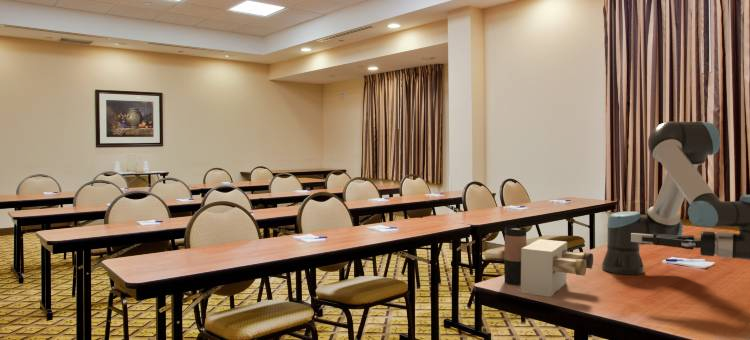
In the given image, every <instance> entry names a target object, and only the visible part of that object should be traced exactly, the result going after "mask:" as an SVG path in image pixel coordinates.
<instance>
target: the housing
mask: <svg viewBox="0 0 750 340" xmlns="http://www.w3.org/2000/svg"><path fill="white" fill-rule="evenodd" d="M562 251H566V252H568V241H565V240H564V241H563V240H551V239H543V238H542V239H541V238H539V239H536V240H535V241H533V242H531V243H529V244H528V245H527V244H526V246H525V247H523V248H521V285H520V294H521V293H523V294H527V295H528V294H530V295H533V296H534V295H535V296H542V297H548V298H551V297H552V296H554V293H555V292H556V291H557V290H558V291H560V290H561V288H562V287H564V285H566V283H567V273H564V272H556V271H553V257H560V258H562ZM558 291H557V292H558ZM557 292H556V293H557Z"/></svg>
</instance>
